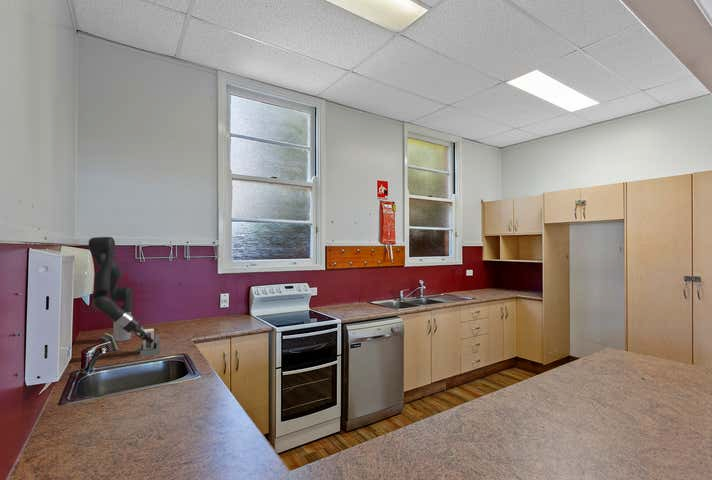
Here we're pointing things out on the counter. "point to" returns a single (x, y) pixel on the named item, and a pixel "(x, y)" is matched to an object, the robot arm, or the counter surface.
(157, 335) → the bracket
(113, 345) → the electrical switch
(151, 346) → the beige grey rectangular block
